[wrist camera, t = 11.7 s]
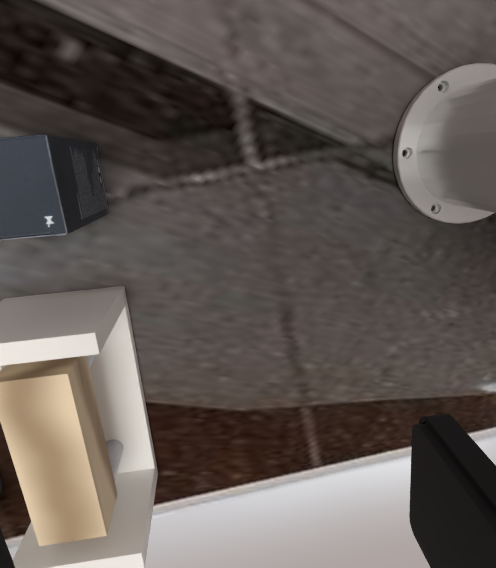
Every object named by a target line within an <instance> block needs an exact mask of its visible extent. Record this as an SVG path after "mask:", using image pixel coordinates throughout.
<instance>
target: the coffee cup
mask: <svg viewBox="0 0 496 568" xmlns="http://www.w3.org/2000/svg"><path fill="white" fill-rule="evenodd" d="M2 486H3V484H2V478H1V476H0V494H1V491H2Z"/></svg>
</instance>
